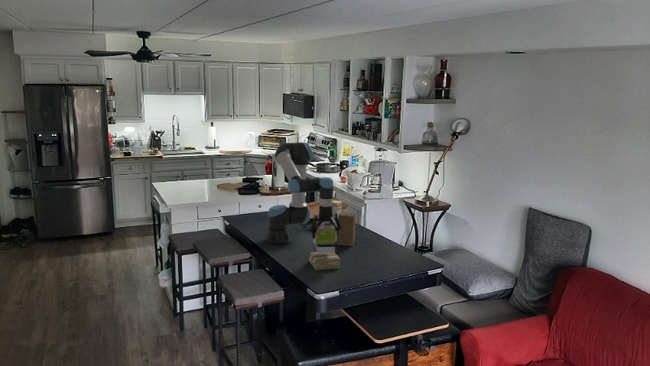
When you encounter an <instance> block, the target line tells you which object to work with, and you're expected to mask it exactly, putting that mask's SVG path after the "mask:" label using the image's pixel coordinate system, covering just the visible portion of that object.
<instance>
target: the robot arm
mask: <svg viewBox="0 0 650 366" xmlns="http://www.w3.org/2000/svg"><path fill="white" fill-rule="evenodd" d="M313 155H314V153H313V149H312V146H311V145H310V143H308V142H302V141H301V142H285V143H284V142H283V143H282V144H280V145H279V146H277V148H276V149H275V152H274V159H275V161H276V163H277V164H278V165H280V167H281V169H282V170H283V173H284V175H285V177H286V179H287V180H288V183H287V188H288V192H289V193H291V202H290V203H289V205H288V206H287V205H285V204H276V205H273V206H271V207H270V208H269V209H268V230H267V233H266V237H265V243H267V244H270V245H272V246H273V245H275V246H281V245H286V244H287V243H289V242H290V236H289V233H288V230H287V228H288V226H293V225H294V226H295V225H303V224H307V223H308V222H309V221H310V218H311V209H310V207H309V205H308V204H307V203H306V193H317V192H318V193H319V196H318V200H319V202H318V205H319V206H318V214H317V215H316V214H313V219H312V221H311V225H310V226H309V229H308V231H309V232H310V233H311V239H313V240H312V241H313V244H314V245H316V244H317V233H316V231H317V226H320V225H321V224H322V223H323V222H326V221H327V222H330V223H331V224H334V227H335V243H337V238H338V231H339V229H341V226H340V223H339V220H338V217H337V213H333V214H332V210H333V206H332V205H333V200H334V179H333V178H332V177H325V176H323V177H318V176H317V177H316V176H315V177H313V178H307V167H308V166H309V164H310V162H311V161H312V160H313V157H314V156H313ZM332 216H333V217H334V219H335V222H336V225H337V226H336V225H335V223H334V222H333V220H332V219H331V218H332ZM317 221H318V222H317ZM316 222H317V224H316Z"/></svg>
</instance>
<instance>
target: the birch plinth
mask: <svg viewBox="0 0 650 366" xmlns="http://www.w3.org/2000/svg"><path fill="white" fill-rule="evenodd" d="M308 257H309V258H308V259H309V261H308V262H309V264H311V265H312V267H313V268H314V269H315V271H321V270H333V269H340V268H341V266H340V265H341V258H340V257H339V256H338V254H337V253H336V252H335V253H317V251H310V252H309V256H308Z"/></svg>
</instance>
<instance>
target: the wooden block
mask: <svg viewBox="0 0 650 366" xmlns="http://www.w3.org/2000/svg"><path fill="white" fill-rule="evenodd" d="M356 217H357V213H356V212H350V211H342V212H340V214H339V215H338V220H339V223H340V226H341V229H339V231H338V236H337V238H336V244H337V246H345V247H353V246H354V244H355V242H356Z"/></svg>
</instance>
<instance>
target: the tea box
mask: <svg viewBox="0 0 650 366" xmlns="http://www.w3.org/2000/svg"><path fill="white" fill-rule="evenodd" d="M317 222H318V220H317ZM317 222H316V224H317ZM316 224H315V225H316ZM316 233H317V244H315V247H316V252H317V253H335V254H336V242H335V227H334V224H331V223H330V222H327V221H326V222H323V223H322V224H321V225H320V226H317V231H316Z"/></svg>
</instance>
